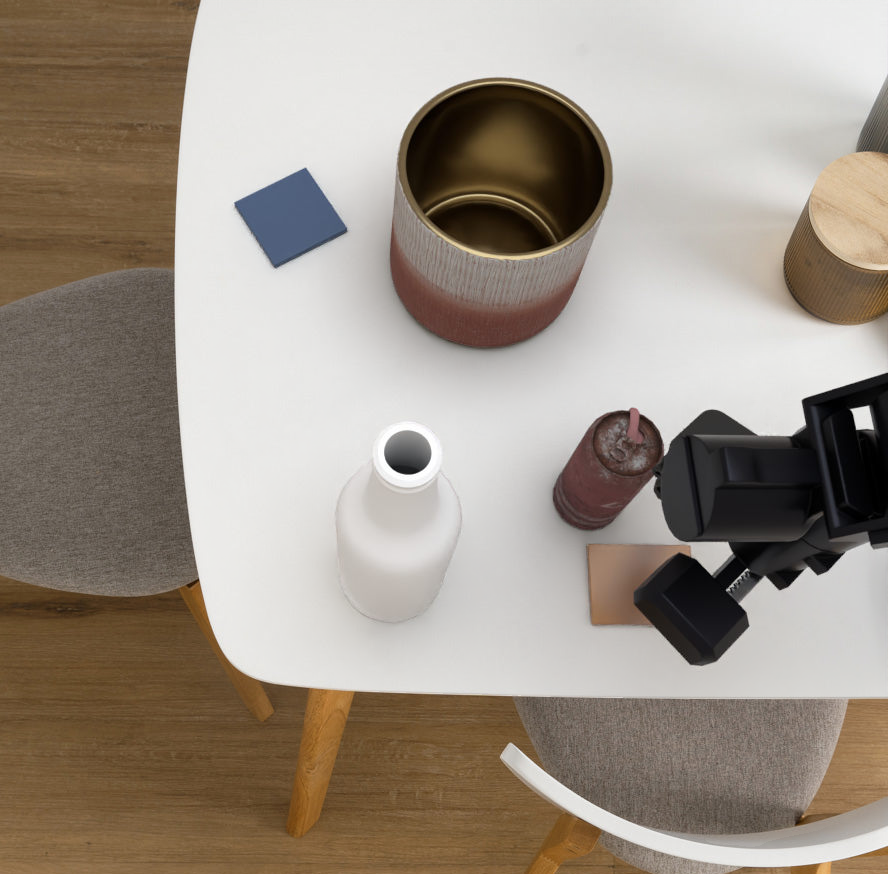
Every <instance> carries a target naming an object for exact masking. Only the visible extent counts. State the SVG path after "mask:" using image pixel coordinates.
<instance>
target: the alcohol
mask: <svg viewBox="0 0 888 874" xmlns="http://www.w3.org/2000/svg"><path fill="white" fill-rule="evenodd" d="M443 456H444V455H443V447H442V443H441V441H440V439H439V437H437V435H436V434H435V432H433V431H432V430H431V429H430V428H429V427H427V426H426V425H424V424H421V423H418V422H414V421H399V422H395V423H393V424H391V425H388V426H387V427H386V428H384V429H383V430H382V431H381V432H380V433H379V434H378V436H377V437H376V439H375V441H374V443H373V447H372V456H371V460H370V461H368V462H366V463H365V464H363V465H362V466H360V467H359V468H358V469H357V471H355V472H354V473H353V474H352V475H351V476H350V477H349V478H348V480H347V481H346V482H345V484H344V485H343V486H342V489H341V491H340V493H339V495H338V498H337V500H336V506H335V512H334V517H335V518H334V519H335V521H334V522H335V535H336V549H337V559H338V560H337V561H338V572H339V581H340V585H341V589H342V591H343V592H344V595H345V597H346V599H347V600H348V601H349V602H350V604H351V605H352V606H353V607H354V608H355V609H356V610H357V611H358V612H360V613H361V614H363V615H364V616H366V617H367V618H370V619H373V620H375V621H378V622H385V623H399V622H404V621H407V620H410V619H413V618H415V617H417V616H419V615H420V614H421V613H423V612H424V611H425V610H427V609H428V608H429V607H430V606H431V604H432V603H434V601H435V599H436V597H437V596H438V594H439V592H440V589H441V587H442V583H443V581H444V578H445V575H446V573H447V571H448V568H449V565H450V562H451V560H452V558H453V554H454V551H455V549H456V546H457V545H458V541H459V538H460V535H461V532H462V525H463V510H462V506H461V501H460V498H459V496H458V494H457V493H458V492H457V491H456V489H455V488H454V486H453V484H452V482H451V481H450V479H449V478H448V477H447V476H446V474H445V472H443V471H442V470H441V467H442V463H443Z"/></svg>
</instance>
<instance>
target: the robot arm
mask: <svg viewBox="0 0 888 874" xmlns="http://www.w3.org/2000/svg"><path fill="white" fill-rule="evenodd" d="M801 407H802V411H803V417H804V422H805V424H804V425H803V426H802V427H800V428H799V429H797V430H796V431H795V432H794V433H793V434H792V435H758V434H757V433H756V432H754V431H753V430H750V429H749V428H748V427H746V426H745V425H743V424H742V423H740V422H738V420H736V419H735V418H733V417H731V416H729V415H728V414H727V413H725V412H723V411H721V410H719V409H718V410H717V409H714V408H713V409H706V410H703V411H702V412H701V413H700V414H698V415H697V416H696V417H695V418H694V419H693V420H692V421H691V422H690V423H689V424H688V425H687V426H686V427H685V428H684V429H682V430H681V431H680V432H679V433H678V434H677V435H676V436H675V437H674V438H673V439H672V440H671V441H670V443H669V446H668V449H667V453H666V454H664V457H663V458H662V459H661V461H660V462H659V463H658V464H657V465H656V466H654V467H653V468H652V473H653V475H654V476H653V477H655V481H654V484H653V488H652V489H653V490H652V491H653V493H654V495H655V496H656V497H657V499H658V500H660V502H661V509H662V513H663V517H664V520H665V523H666V525H667V527H668V530H669V531H670V532H671V534H672V536H673V537H674V538H676V540H678V541H680V542H683V543H728V546H729V549H730V550H731V553H732V554H731V555H730V556H729V557H728V558H727V559H726V560H725V561H723V563H722V564H721V565H720V566H719V567H718V568H717V569H716V570H715V571H714V572H713V573H712V574H711V573H710V572H709V571H708V569H706V568H705V566H703V565H702V563H701V562H700V561H699V560H698V559H697V558H695V557H692V556H691V557H690V556H688V555H685V554H683V553H680V552H679V553H677V554H675V555H673V556H672V557H670V558H669V559H667V560H666V561H665V562H664V563H663V564H662V565H661V566H659V567H658V568H657V569H656V570H655V571H654V572H653V573H652V574H651V575H650V576H649V577H648V578H647V579H646V580H645V581H644V582H643V583H642V584H641V585H640V586H639V587H638V588H637V589H636V590H635V591H634V592H633V597H634V605H635V606H636V607H637V608H638V609H639V611H640V612H641V613H642V614H643V615H644V616H645V617H646V618H647V619H648V620H649V621H650V622H651V623H652V625H651V626H653V627H654V628H655V629H656V630H657V631H658V632H659V633H660V634H661V635H662V636H663V638H664V639H665V640H666V641H667V642H668V644H669V645H671V646H672V647H673V648H674V649H675V651H676V652H677V653H678V654H679V655H680V656H681V657H682V658H683V659H684V660H685V661H686V662H687V664H688V665H689V666H696V667H697V666H698V667H704V666H707V665H710V664H714V663H717V662H718V661H719V660H720V659H721V657H723V655H725V653H726V652H727V651H728V650H729V649H730V648H731V647H732V646H733V645H734V643H736V642H737V641H738V639H740V637H741V636H742V635H743V634H744V633H745V632H746V631H747V630H748V629H749V628H750V622H749V617H748V616H749V615H748V612H747V611H746V610H745V609H744V607H743V606H742V605H741V604H740V603H741V602H742V601H743V600H744V599H745V598H746V596H748V594H749V593H750V592H752V590H753V589H754V588H756V586H757V585H758V584H759V583H760V582H761V581H762V580H763V579H764V578H765V577H766V578H767V580H768V581H770V583H771V584H772V585H773V586H774V587H775V588H776V589H777V590H778V591H783V590H785V589H787V588H789V587H790V586H791V585H792V584H793V583H794V582H795V581H796V580H797V579H798V578H799V576H801V574H803V572H804V571H805V570H806V569H807V568H809V569H810V570H811V571H812V572H813V573H814V574H815V575H816V576H821V575H823V574H826V573H827V572H830V570H831V569H832V568H833V567H834V565H835V564H837V562H838V561H840V559H841V558H842V557H843V556H844V555H845V554H846V553H847V552H848V551H851V550H853V549H855V548H858V547H860V546H863V545H865V544H867V543H869V546H870V547H871V548H872V550H880V549H885V548H888V372H885V373H881V374H878V375H874V376H871V377H868V378H865V379H861V380H859V381H855V382H852V383H849V384H845V385H842V386H839V387H836V388H832V389H830V390H829V389H828V390H826V391H823V392H819V393H816V394H812V395H810V396H807V397H806V396H805V397H804V398H802V399H801ZM865 407H868V408H869V413H870V418H871V423H872V427H873V429H871V428H862V429H857V426H856V421H855V416H854V413H853V411H852V410H855V409H860V408H865ZM743 573H744V574H743ZM732 585H733V586H732ZM728 589H729V590H728Z"/></svg>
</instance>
